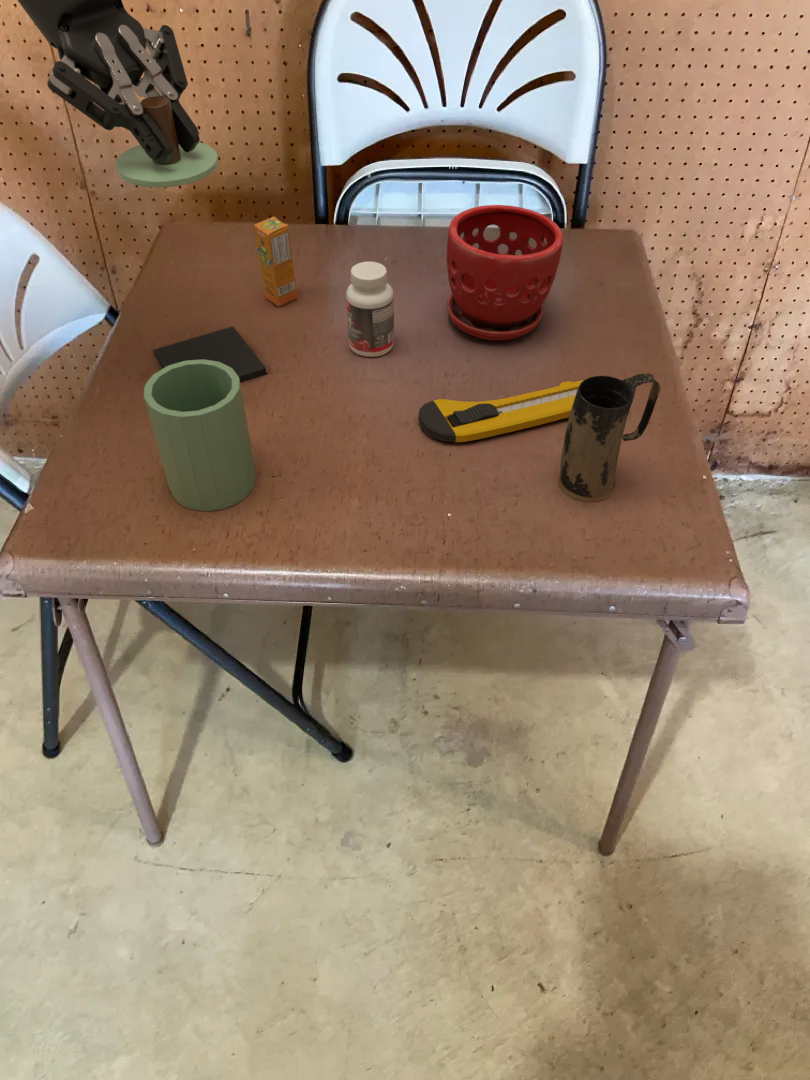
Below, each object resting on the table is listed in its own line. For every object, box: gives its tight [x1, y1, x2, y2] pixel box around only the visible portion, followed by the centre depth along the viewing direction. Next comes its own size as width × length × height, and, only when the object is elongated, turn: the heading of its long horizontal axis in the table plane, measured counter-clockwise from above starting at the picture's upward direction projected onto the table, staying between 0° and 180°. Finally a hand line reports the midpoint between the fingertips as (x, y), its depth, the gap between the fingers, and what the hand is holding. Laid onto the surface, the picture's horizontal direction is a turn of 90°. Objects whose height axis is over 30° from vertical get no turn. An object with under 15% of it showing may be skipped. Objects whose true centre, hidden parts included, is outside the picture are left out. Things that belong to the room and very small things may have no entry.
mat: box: [152, 326, 268, 383], centre depth 97 cm, size 10×10×1 cm
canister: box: [143, 359, 257, 512], centre depth 79 cm, size 8×8×12 cm
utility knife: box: [418, 379, 585, 443], centre depth 91 cm, size 7×22×2 cm, turn 111°
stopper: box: [115, 96, 219, 189], centre depth 76 cm, size 9×9×6 cm
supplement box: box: [253, 216, 299, 308], centre depth 103 cm, size 3×3×10 cm
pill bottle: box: [345, 261, 395, 358], centre depth 96 cm, size 5×5×10 cm
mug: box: [558, 372, 661, 503], centre depth 79 cm, size 8×6×12 cm
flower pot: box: [446, 204, 564, 341], centre depth 99 cm, size 13×13×12 cm
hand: (180, 151), depth 76 cm, fingers closed on stopper, 2 cm apart
